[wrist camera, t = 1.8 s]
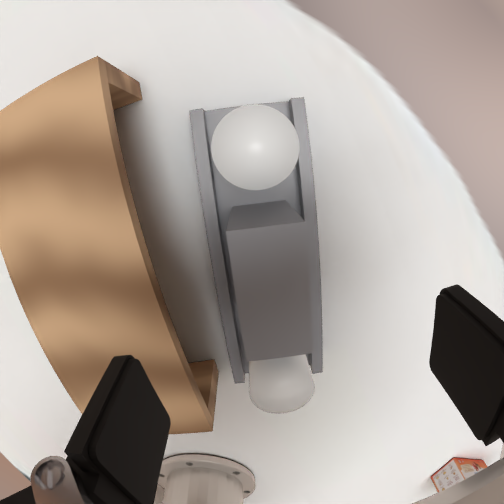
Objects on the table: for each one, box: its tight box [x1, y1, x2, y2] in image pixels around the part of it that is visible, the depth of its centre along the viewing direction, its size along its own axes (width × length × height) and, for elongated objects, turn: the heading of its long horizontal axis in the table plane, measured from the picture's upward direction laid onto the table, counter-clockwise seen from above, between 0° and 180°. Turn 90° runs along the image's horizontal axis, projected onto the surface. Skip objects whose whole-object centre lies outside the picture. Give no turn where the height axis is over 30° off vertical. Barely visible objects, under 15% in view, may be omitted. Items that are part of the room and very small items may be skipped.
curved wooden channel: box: [0, 56, 219, 434], centre depth 19 cm, size 24×10×7 cm, turn 12°
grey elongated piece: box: [190, 97, 322, 413], centre depth 19 cm, size 20×7×8 cm, turn 7°
